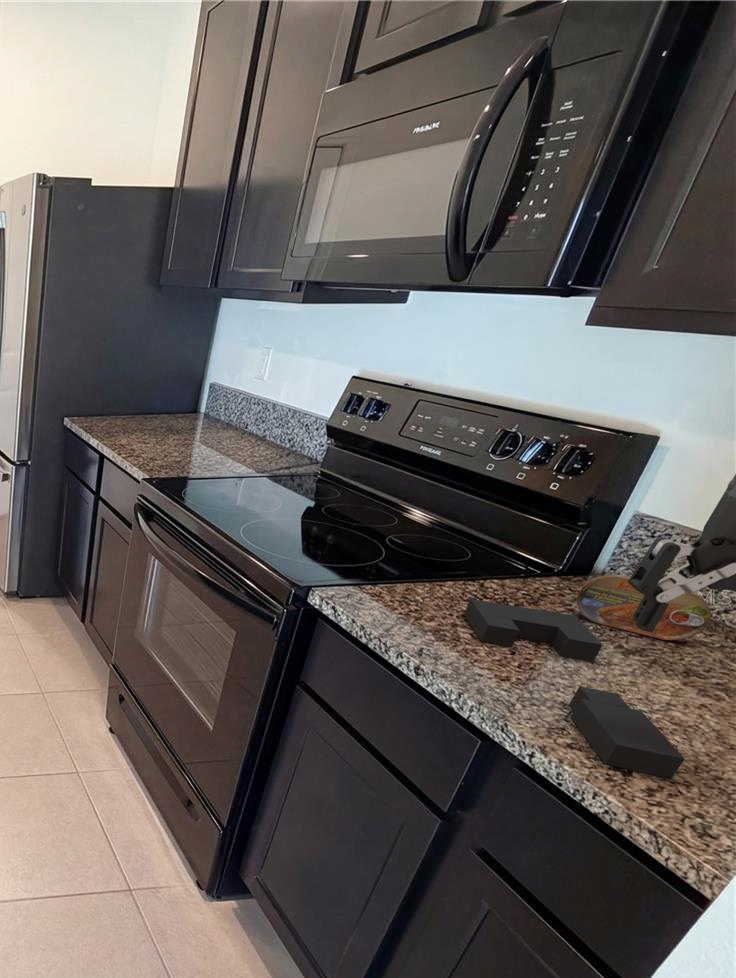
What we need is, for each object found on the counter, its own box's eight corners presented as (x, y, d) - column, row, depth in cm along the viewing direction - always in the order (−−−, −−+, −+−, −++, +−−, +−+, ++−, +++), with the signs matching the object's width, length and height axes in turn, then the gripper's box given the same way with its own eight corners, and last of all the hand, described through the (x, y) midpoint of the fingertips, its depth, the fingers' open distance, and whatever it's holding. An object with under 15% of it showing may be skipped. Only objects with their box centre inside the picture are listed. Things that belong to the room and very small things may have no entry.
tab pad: (616, 714, 86) (627, 695, 84) (671, 779, 75) (685, 758, 73) (559, 702, 88) (569, 684, 87) (604, 764, 77) (617, 744, 75)
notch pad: (566, 631, 106) (575, 615, 104) (593, 661, 98) (603, 644, 96) (463, 614, 111) (470, 598, 109) (480, 641, 102) (488, 624, 101)
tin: (566, 615, 111) (590, 570, 107) (568, 609, 113) (591, 565, 109) (693, 648, 102) (723, 601, 98) (692, 641, 104) (722, 594, 100)
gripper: (709, 497, 65) (626, 638, 72) (913, 521, 60) (802, 669, 67) (669, 478, 71) (596, 609, 78) (851, 498, 66) (756, 636, 73)
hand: (692, 637), depth 73 cm, fingers open, 8 cm apart
